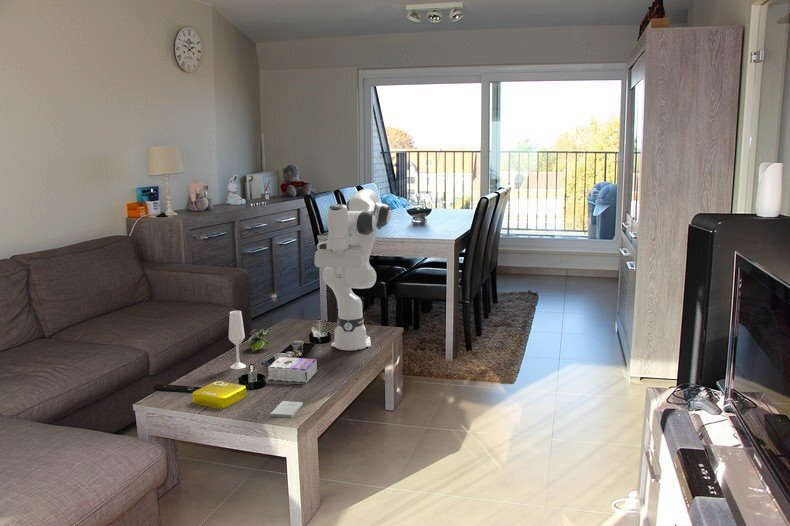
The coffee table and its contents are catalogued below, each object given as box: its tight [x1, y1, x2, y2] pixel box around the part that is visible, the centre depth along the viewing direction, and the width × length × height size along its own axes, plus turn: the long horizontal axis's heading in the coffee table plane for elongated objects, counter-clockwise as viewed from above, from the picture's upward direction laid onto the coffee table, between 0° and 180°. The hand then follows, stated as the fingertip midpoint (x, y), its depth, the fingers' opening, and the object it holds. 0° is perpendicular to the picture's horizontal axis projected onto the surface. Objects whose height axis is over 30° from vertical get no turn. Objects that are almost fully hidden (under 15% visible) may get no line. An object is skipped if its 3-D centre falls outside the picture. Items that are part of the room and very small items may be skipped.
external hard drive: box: [269, 400, 304, 419], centre depth 249 cm, size 2×8×12 cm
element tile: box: [192, 380, 247, 409], centre depth 260 cm, size 15×15×5 cm
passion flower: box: [247, 328, 271, 353], centre depth 323 cm, size 11×11×12 cm
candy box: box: [267, 356, 318, 384], centre depth 284 cm, size 14×6×16 cm
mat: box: [265, 376, 306, 386], centre depth 284 cm, size 16×17×1 cm
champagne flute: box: [228, 310, 247, 370], centre depth 296 cm, size 7×7×24 cm
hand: (339, 277), depth 287 cm, fingers closed
